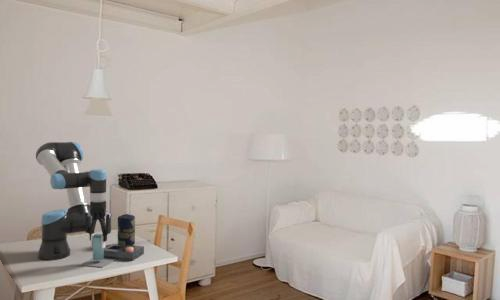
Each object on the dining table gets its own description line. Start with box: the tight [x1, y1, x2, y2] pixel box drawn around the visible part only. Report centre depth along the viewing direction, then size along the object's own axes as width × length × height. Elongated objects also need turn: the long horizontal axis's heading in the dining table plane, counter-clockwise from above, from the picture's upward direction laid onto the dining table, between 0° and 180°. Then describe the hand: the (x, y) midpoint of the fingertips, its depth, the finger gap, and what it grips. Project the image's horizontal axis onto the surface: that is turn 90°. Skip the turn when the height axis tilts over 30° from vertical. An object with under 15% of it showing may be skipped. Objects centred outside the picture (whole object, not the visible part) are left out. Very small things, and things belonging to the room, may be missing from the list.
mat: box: [79, 257, 117, 268], centre depth 201 cm, size 12×12×1 cm
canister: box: [117, 213, 136, 246], centre depth 231 cm, size 10×10×18 cm
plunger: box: [126, 247, 134, 252], centre depth 209 cm, size 4×4×4 cm
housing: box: [104, 243, 145, 262], centre depth 212 cm, size 18×12×4 cm, turn 78°
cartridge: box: [92, 233, 104, 260], centre depth 200 cm, size 5×5×12 cm
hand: (98, 247), depth 201 cm, fingers closed on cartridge, 5 cm apart
